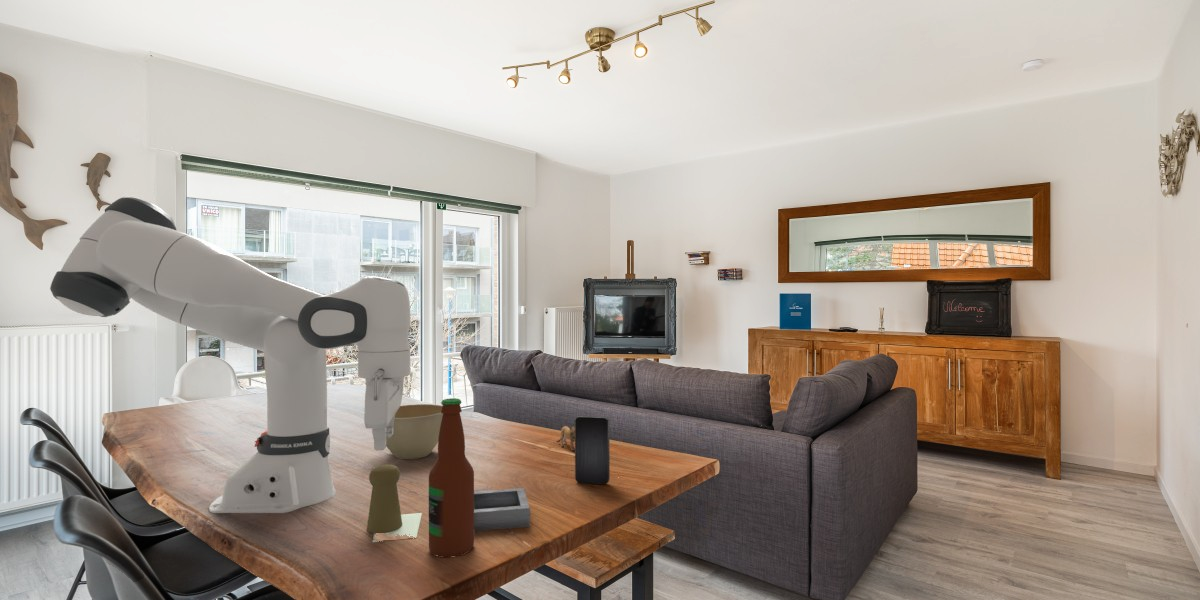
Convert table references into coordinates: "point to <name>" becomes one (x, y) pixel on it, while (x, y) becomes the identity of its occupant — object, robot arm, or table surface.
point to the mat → (406, 526)
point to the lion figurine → (567, 436)
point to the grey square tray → (501, 509)
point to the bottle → (451, 488)
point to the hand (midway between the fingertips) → (384, 442)
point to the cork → (384, 500)
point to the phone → (592, 450)
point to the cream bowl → (415, 431)
